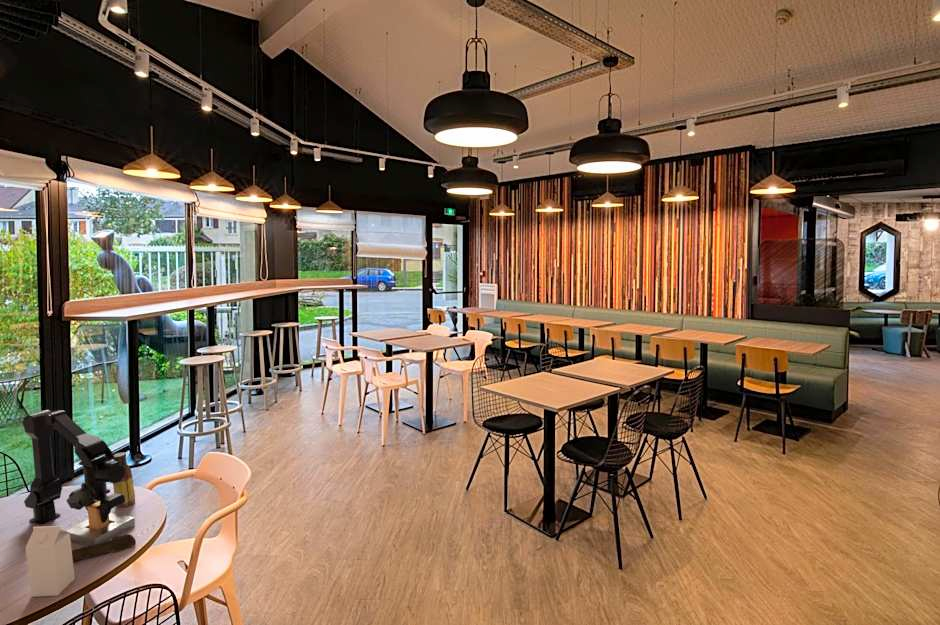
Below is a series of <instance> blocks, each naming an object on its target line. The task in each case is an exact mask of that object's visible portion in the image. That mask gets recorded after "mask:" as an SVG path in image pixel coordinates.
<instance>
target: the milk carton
mask: <svg viewBox="0 0 940 625" xmlns="http://www.w3.org/2000/svg"><path fill="white" fill-rule="evenodd" d="M32 529H33V531H32V532H31V535H30V537H29V539H28V542H27V543H26V545H25V554H26V563H27V565H26V566H27V572H28V580H29V588H30V590H29V591H30V595H31V596H30V597H31V598H32V597H33V598H35V597H37V598H38V597H53V596H54V597H55V596H59V595H60V594H61V593H62V592H63V591H64V590H66V588H67V587H68V586H70V584H72V583H73V582H74V580H75V579H76V578H75V570H74V568H75V567H74V561H73V559H72V550H73V549H72V542H71V540H70V532H67V531H66V530H63V529H61V525H49V526H47V525H46V526H33V527H32Z"/></svg>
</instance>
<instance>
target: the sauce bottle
mask: <svg viewBox="0 0 940 625" xmlns="http://www.w3.org/2000/svg"><path fill="white" fill-rule="evenodd" d="M113 455H114V457H115V458H114V459H112V461H117V462H118V465H121V466H123V467H124V469H125V474H124V477H123V478H122V479H121V480H120V481H119V482H117V483H112V486H113V494H114V493H118V494H122V495H124V496H125V502H124V503H122V504H120V505H118V506H119V507H118V506H117V507H118V508H124V506H125V507H128V505H129V506H131V505H132V504H134V503H135V502H136V494H135V493H136V492H135V486H134V479H133V478H134V477H133V473H132V469H131V466H129V465H128V463H127V459H126V458H127V454H126V452H118V453H117V452H116V453H114V454H113Z"/></svg>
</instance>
